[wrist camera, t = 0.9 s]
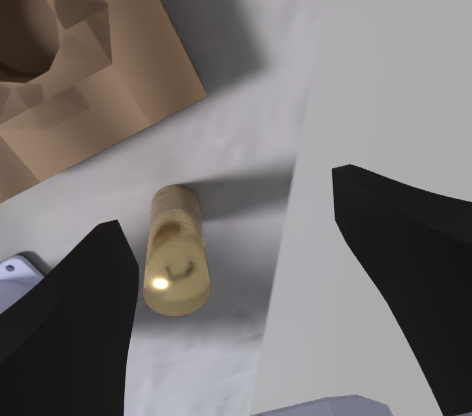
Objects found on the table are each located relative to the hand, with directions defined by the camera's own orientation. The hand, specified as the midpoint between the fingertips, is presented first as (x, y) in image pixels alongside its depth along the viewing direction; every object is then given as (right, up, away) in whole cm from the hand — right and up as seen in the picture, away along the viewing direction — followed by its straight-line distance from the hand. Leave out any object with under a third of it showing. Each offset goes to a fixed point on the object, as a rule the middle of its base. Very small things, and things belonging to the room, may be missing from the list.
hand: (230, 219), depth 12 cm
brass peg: (-4, 0, +11) cm, 12 cm away
